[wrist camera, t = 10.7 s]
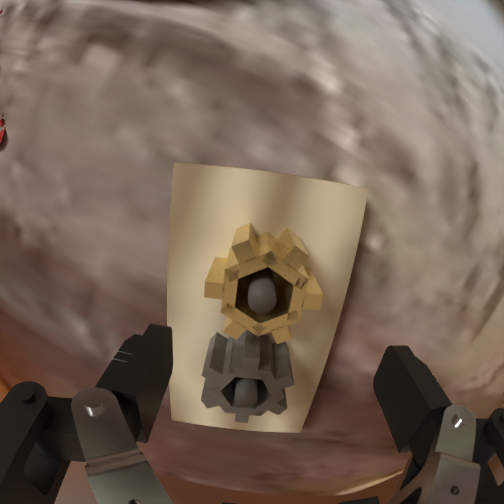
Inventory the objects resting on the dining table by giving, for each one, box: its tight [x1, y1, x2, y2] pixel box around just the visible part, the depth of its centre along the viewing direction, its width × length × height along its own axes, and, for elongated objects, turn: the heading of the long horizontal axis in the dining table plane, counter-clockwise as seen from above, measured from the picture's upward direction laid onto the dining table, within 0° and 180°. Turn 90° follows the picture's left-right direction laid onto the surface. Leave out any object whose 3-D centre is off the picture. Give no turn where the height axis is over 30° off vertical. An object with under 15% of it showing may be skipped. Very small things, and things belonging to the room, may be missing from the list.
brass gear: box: [204, 223, 323, 344], centre depth 17 cm, size 6×6×4 cm
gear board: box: [167, 163, 368, 433], centre depth 19 cm, size 12×22×6 cm, turn 173°
